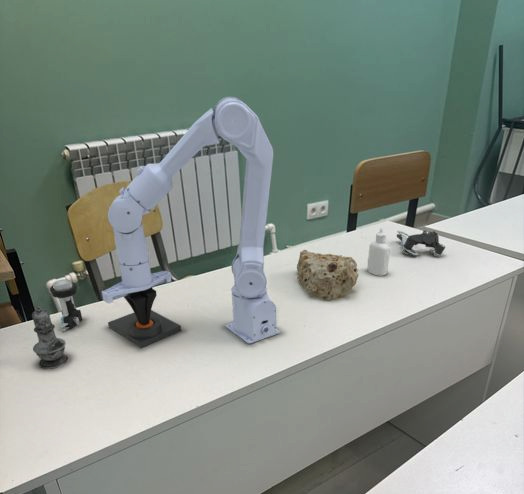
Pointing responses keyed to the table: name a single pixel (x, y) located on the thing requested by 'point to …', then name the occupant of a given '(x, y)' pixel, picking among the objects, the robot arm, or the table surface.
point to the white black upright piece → (67, 303)
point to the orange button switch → (144, 329)
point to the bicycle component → (420, 242)
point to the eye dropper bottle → (378, 255)
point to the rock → (326, 274)
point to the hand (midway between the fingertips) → (144, 323)
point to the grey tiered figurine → (48, 341)
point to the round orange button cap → (144, 325)
